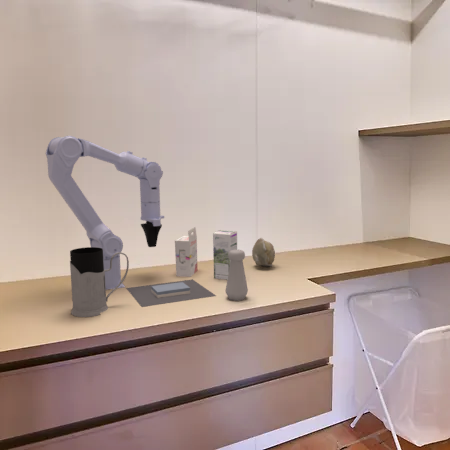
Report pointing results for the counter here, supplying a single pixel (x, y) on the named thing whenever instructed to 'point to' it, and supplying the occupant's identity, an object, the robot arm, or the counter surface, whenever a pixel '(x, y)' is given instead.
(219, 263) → the syrup box
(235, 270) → the salt shaker
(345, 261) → the counter surface
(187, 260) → the ink cartridge box
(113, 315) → the counter surface
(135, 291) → the mat
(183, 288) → the block
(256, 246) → the rock
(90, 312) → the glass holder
